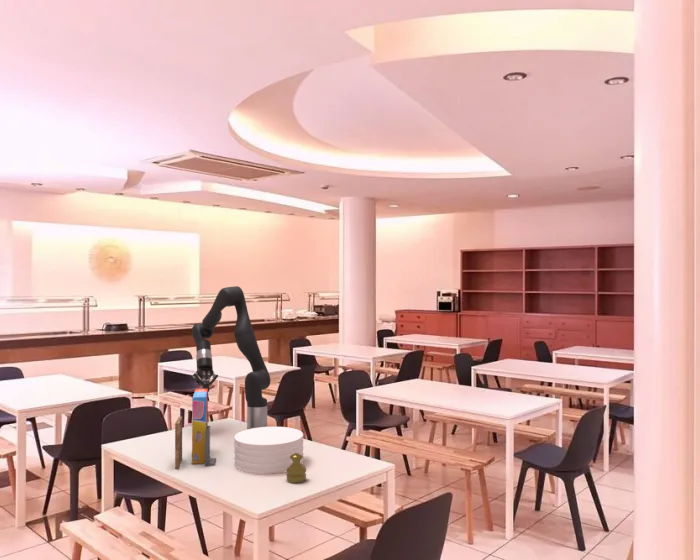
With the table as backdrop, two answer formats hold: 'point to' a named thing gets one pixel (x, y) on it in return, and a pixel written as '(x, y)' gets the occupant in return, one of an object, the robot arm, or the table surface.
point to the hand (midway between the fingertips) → (206, 392)
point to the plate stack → (266, 449)
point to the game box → (199, 424)
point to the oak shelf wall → (178, 442)
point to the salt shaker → (296, 469)
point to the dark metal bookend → (208, 449)
